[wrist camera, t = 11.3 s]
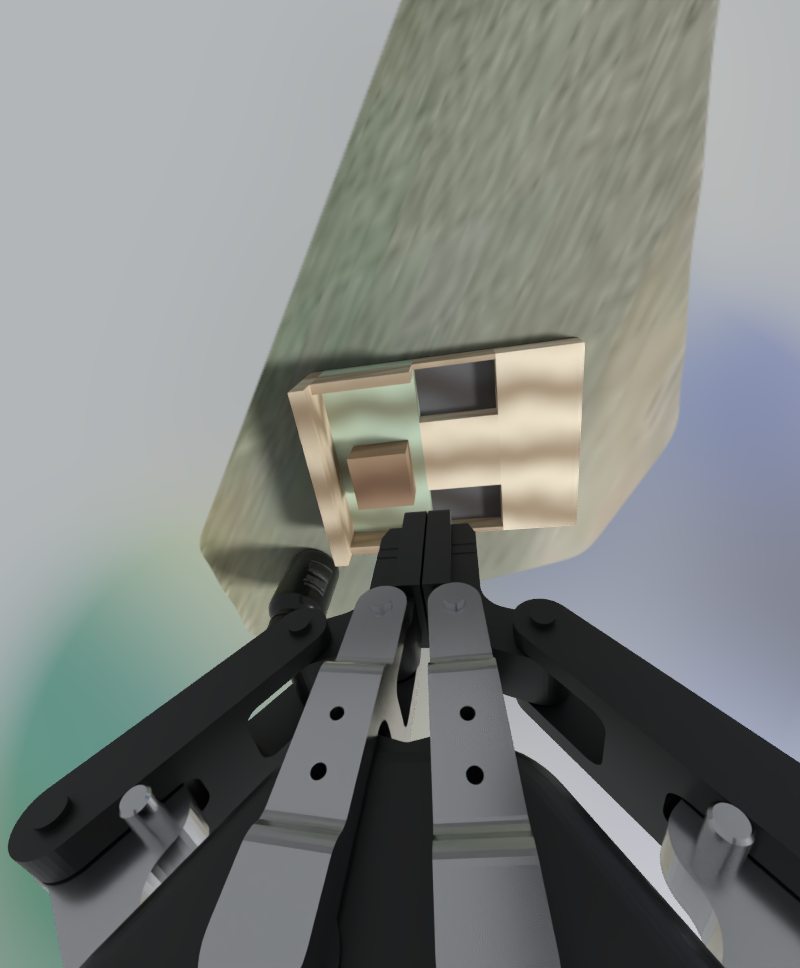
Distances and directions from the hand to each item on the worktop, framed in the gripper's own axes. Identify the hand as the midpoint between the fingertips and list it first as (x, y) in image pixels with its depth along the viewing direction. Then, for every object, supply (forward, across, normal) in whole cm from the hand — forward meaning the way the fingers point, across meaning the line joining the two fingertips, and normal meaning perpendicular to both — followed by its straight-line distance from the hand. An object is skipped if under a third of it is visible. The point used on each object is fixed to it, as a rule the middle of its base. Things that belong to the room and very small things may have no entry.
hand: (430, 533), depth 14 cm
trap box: (+33, +1, +11) cm, 34 cm away
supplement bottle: (+33, +20, +27) cm, 47 cm away
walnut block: (+30, +8, +12) cm, 33 cm away
